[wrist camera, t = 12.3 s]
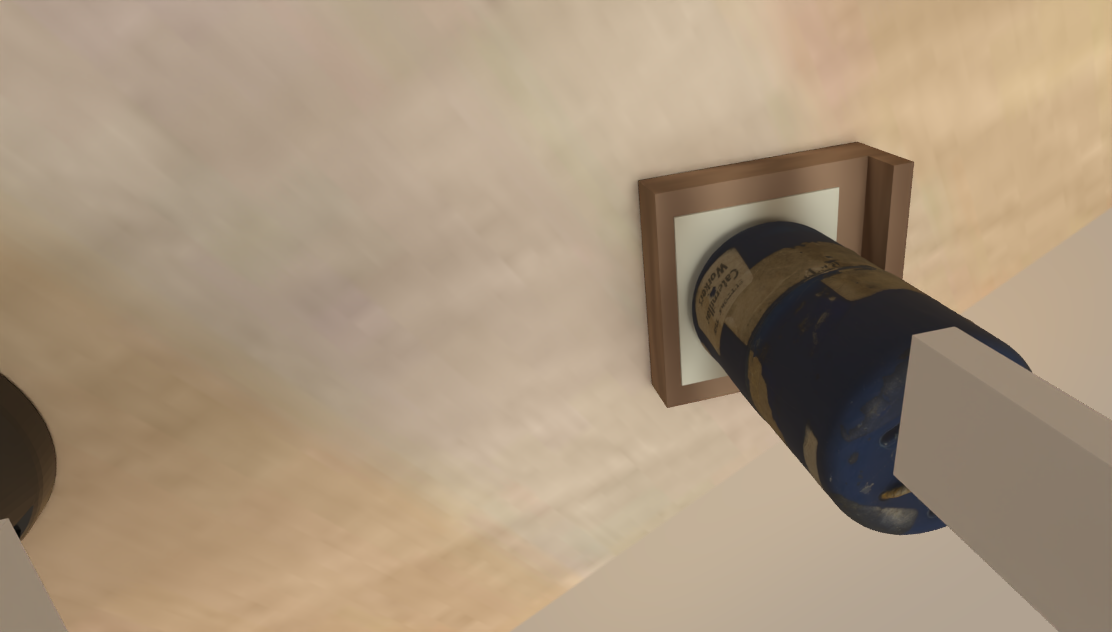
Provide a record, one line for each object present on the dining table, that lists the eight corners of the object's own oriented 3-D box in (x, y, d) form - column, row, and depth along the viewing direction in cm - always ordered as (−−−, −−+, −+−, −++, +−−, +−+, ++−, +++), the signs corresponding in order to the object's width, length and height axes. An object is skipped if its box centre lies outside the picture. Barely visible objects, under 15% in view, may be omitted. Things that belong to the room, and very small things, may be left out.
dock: (652, 384, 49) (681, 428, 45) (638, 180, 43) (670, 206, 38) (844, 342, 51) (892, 380, 46) (857, 141, 45) (913, 162, 40)
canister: (844, 320, 47) (1085, 501, 31) (708, 385, 46) (879, 601, 30) (811, 185, 42) (1074, 315, 26) (661, 256, 42) (833, 430, 26)
